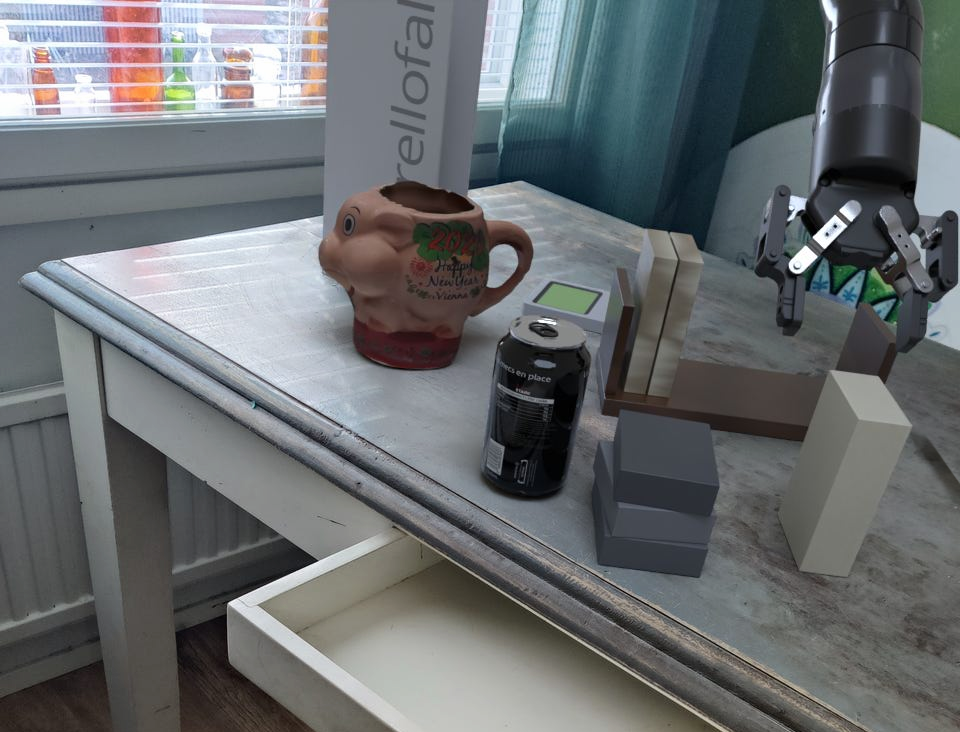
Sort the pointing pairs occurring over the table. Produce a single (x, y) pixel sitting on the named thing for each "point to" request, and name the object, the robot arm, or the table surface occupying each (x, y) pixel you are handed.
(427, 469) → the table surface
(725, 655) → the table surface
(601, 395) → the book rack
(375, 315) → the pig-shaped ceramic mug
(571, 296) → the handheld gaming console
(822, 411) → the tall beige pillar
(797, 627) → the table surface
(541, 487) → the beverage can
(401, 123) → the white lettered box
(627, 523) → the stacked grey blocks
